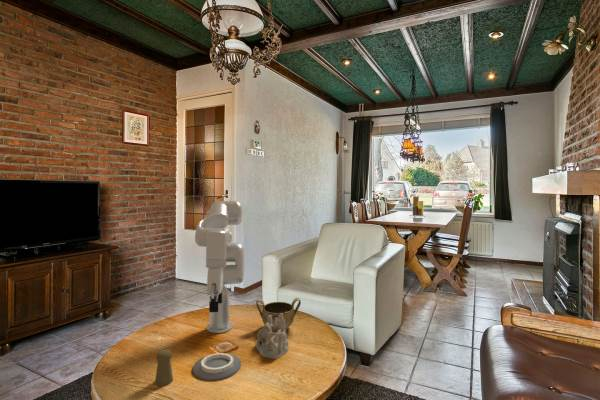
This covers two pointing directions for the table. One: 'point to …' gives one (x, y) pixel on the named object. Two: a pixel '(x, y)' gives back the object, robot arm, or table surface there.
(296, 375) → the table surface
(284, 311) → the ceramic bowl
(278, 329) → the ceramic cottage
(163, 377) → the cork
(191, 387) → the table surface
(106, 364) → the table surface
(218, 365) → the round tray
